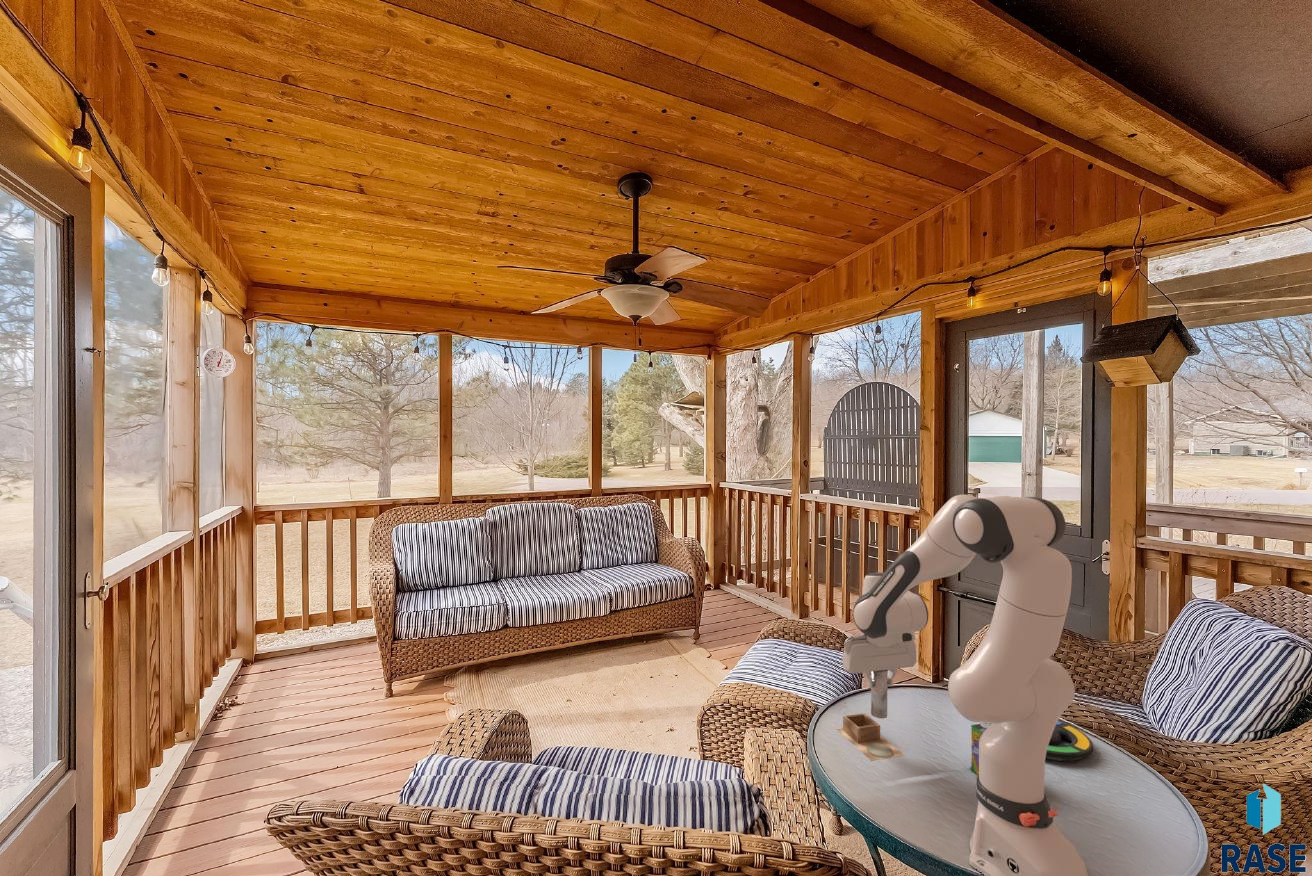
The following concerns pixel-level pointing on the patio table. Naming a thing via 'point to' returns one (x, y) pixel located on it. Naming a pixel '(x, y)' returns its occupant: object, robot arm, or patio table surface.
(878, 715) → the peg
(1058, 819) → the patio table surface
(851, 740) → the pocket board
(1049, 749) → the electronic game
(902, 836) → the patio table surface
